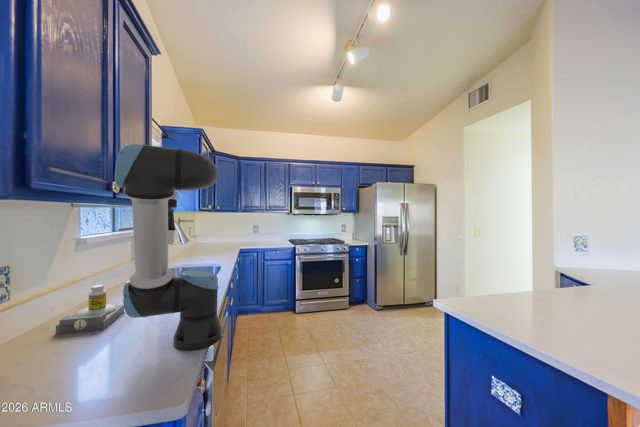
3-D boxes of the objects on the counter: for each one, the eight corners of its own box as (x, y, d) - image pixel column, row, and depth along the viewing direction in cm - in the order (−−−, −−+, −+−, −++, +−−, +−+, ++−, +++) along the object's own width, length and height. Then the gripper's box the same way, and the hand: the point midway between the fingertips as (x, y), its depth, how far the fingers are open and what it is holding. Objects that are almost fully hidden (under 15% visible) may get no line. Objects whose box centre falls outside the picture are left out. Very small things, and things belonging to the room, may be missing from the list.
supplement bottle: (106, 306, 106) (107, 283, 106) (104, 310, 102) (105, 286, 102) (89, 308, 103) (90, 285, 104) (86, 313, 99) (87, 288, 99)
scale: (103, 330, 94) (103, 316, 94) (54, 334, 89) (55, 320, 89) (124, 311, 111) (124, 300, 111) (84, 314, 107) (84, 303, 107)
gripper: (170, 197, 103) (168, 249, 103) (182, 200, 127) (181, 242, 127) (148, 196, 101) (146, 250, 100) (165, 199, 124) (163, 243, 124)
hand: (165, 246), depth 114 cm, fingers open, 13 cm apart
